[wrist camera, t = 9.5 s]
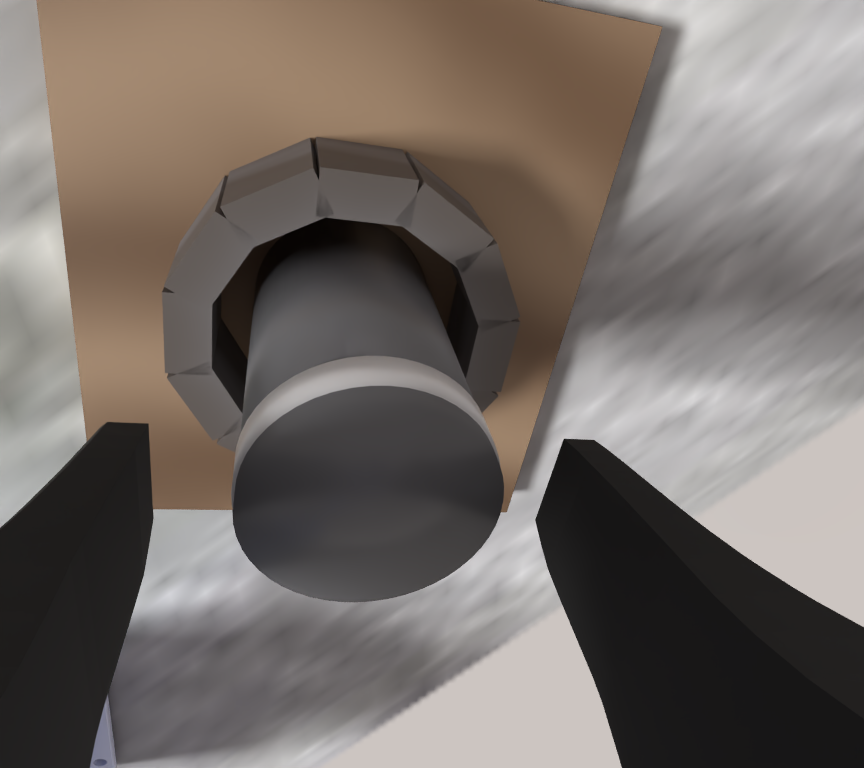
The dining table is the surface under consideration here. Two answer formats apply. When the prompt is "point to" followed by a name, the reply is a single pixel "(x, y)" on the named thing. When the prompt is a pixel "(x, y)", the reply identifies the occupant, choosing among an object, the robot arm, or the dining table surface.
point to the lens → (357, 424)
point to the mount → (323, 188)
